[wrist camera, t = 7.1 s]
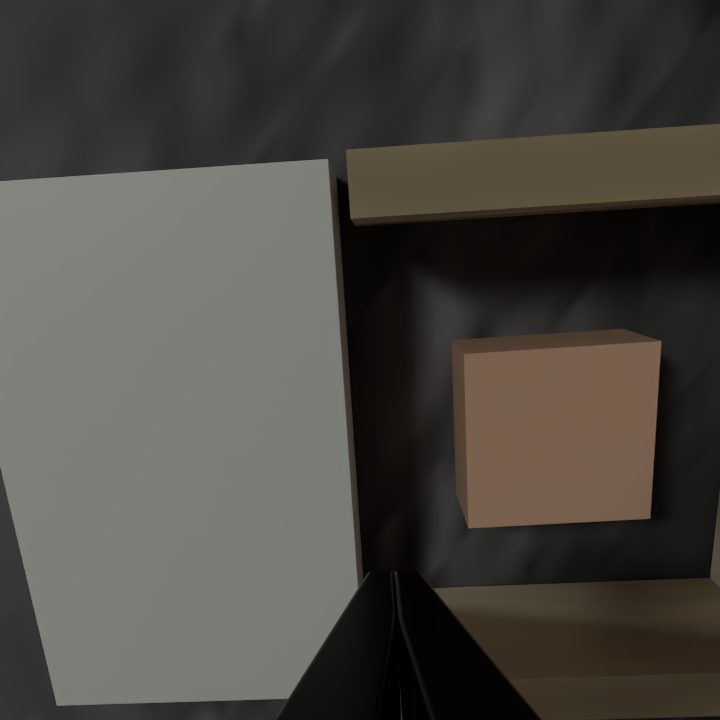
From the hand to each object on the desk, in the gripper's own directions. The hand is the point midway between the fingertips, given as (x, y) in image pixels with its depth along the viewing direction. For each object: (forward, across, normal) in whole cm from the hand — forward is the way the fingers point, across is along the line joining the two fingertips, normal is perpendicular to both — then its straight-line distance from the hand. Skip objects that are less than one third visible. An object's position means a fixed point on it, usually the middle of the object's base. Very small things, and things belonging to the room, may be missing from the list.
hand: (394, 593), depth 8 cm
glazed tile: (+7, -5, 0) cm, 8 cm away
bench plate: (+9, +6, 0) cm, 11 cm away
